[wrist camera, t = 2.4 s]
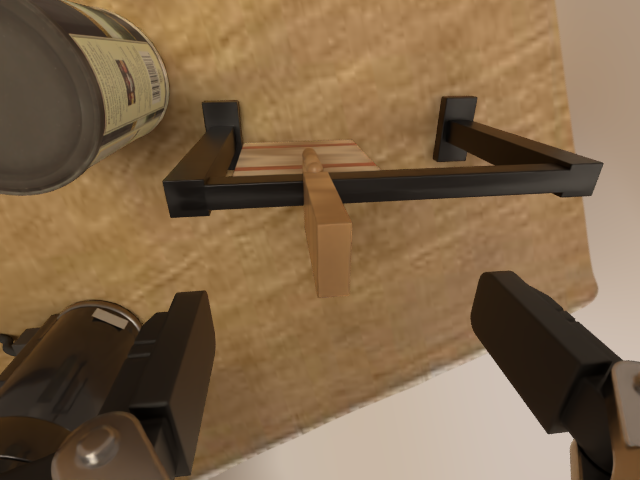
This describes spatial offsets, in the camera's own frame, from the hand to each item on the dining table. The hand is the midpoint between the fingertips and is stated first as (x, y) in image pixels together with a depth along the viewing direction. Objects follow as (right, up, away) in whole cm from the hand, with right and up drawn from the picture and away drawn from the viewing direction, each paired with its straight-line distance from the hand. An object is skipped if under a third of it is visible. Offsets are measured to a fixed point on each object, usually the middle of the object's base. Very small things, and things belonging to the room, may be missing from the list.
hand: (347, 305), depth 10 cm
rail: (+1, +12, +23) cm, 26 cm away
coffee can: (-19, +15, +19) cm, 31 cm away
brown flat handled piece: (-3, +10, +19) cm, 21 cm away
